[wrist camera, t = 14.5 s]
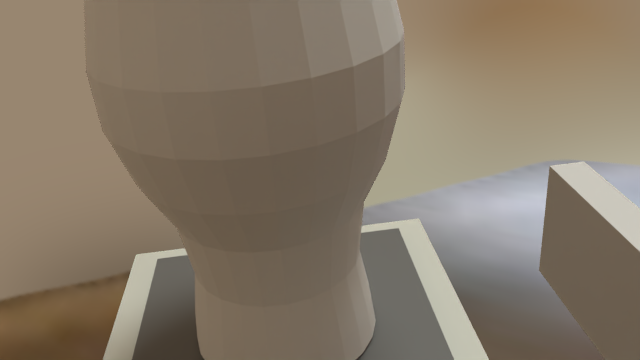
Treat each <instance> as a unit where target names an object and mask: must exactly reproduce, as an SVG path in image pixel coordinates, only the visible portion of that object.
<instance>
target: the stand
mask: <svg viewBox="0 0 640 360" xmlns="http://www.w3.org/2000/svg"><path fill="white" fill-rule="evenodd" d="M360 253H361V257H362V260H363V264H364V268H365V272H366V275H367V279H368V283H369V288H370V293H371V298H372V303H373V309H374V314H375V319H376V322H375V327H374V332H373V337H372V339H371V340H370V342H369V344H368V345H367V347H366V349H365V350H364V352H363V353H362V354H361V355H360V356H359V357H358V358H357V359H356V360H489V359H488V357H487V355H486V353H485V351H484V349H483V347H482V345H481V343H480V341H479V339H478V337H477V335H476V333H475V331H474V329H473V327H472V325H471V323H470V321H469V319H468V317H467V315H466V313H465V311H464V309H463V307H462V305H461V303H460V301H459V298H458V296H457V294H456V292H455V290H454V288H453V286H452V284H451V282H450V280H449V278H448V276H447V274H446V272H445V270H444V268H443V266H442V264H441V262H440V260H439V258H438V256H437V254H436V252H435V250H434V248H433V246H432V244H431V242H430V240H429V238H428V236H427V234H426V232H425V230H424V228H423V226H422V224H421V222H420V220H419V219H412V220H404V221H396V222H388V223H380V224H373V225H365V226H362V227H361V238H360ZM103 360H204V358H203V357H202V355H201V354H200V348H199V343H198V338H197V327H196V316H195V272H194V270H193V267H192V265H191V262H190V260H189V257H188V255H187V252H186V250H185V248H184V249H176V250H168V251H160V252H153V253H145V254H137V255H136V257H135V260H134V263H133V266H132V269H131V273H130V276H129V279H128V282H127V285H126V288H125V292H124V295H123V298H122V301H121V304H120V307H119V311H118V314H117V317H116V320H115V323H114V326H113V330H112V333H111V336H110V339H109V342H108V345H107V349H106V352H105V355H104V358H103Z"/></svg>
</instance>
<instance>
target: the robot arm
mask: <svg viewBox="0 0 640 360" xmlns="http://www.w3.org/2000/svg"><path fill="white" fill-rule="evenodd" d="M539 271H540V272H541V273H542V275H543V276H544V277H545V279H546V280H547V281H548V283H549V284H550V286H551V287H552V288H553V290H554V291H555V292H556V294H557V295H558V296H559V298H560V299H561V300H562V302H563V303H564V304H565V306H566V307H567V309H568V310H569V311H570V313H571V314H572V315H573V317H574V318H575V319H576V321H577V322H578V323H579V325H580V326H581V328H582V329H583V330H584V332H585V333H586V334H587V336H588V337H589V338H590V340H591V341H592V342H593V344H594V345H595V346H596V348H597V349H598V351H599V352H600V353H601V355H602V356H603V357H604V359H605V360H640V208H639V207H637V206H636V205H635V204H634V203H633V202H631V201H630V200H629V199H628V198H627V197H625V196H624V195H623V194H622V193H621V192H620V191H618V190H617V189H616V188H615V187H614V186H612V185H611V184H610V183H609V182H608V181H606V180H605V179H604V178H603V177H602V176H600V175H599V174H598V173H597V172H596V171H595V170H593V169H592V168H591V167H590V166H589V165H587V164H586V163H585V162H578V163H569V164H561V165H553V166H550V169H549V179H548V188H547V198H546V208H545V218H544V228H543V238H542V248H541V257H540V267H539Z"/></svg>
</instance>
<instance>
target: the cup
mask: <svg viewBox="0 0 640 360" xmlns="http://www.w3.org/2000/svg"><path fill="white" fill-rule="evenodd" d="M84 13H85V48H86V49H85V52H86V73H87V77H88V80H89V84H90V87H91V91H92V95H93V98H94V102H95V105H96V109H97V112H98V116H99V120H100V123H101V127H102V130H103V132H104V134H105V135H106V137H107V138H108V140H109V142H110V143H111V145H112V147H113V148H114V150H115V151H116V153H117V154H118V156H119V158H120V159H121V161H122V163H123V164H124V166H125V167H126V169H127V171H128V172H129V174H130V175H131V177H132V178H133V180H134V182H135V183H136V185H137V186H138V187H139V188H140V189H141V191H142V192H143V193H144V194H145V195H146V196H147V197H148V199H149V200H151V202H152V203H153V204H154V205H155V206H156V207H157V208H158V209H159V210H160V211H161V212H162V213H163V214H164V215H165V216H166V217H167V218H168V219H169V220H170V221H171V222H172V223H173V224H174V225H175V227H177V230H178V232H179V234H180V237H181V239H182V242H183V245H184V247H185V250H186V252H187V255H188V257H189V260H190V262H191V265H192V267H193V270H194V272H195V316H196V327H197V338H198V343H199V348H200V354H201V355H202V357H203V358H204V360H356V359H357V358H358V357H359V356H360V355H361V354H362V353H363V352H364V350H365V349H366V347H367V345H368V344H369V342H370V340H371V339H372V337H373V332H374V327H375V322H376V319H375V314H374V309H373V303H372V298H371V293H370V288H369V283H368V279H367V275H366V272H365V268H364V264H363V260H362V257H361V253H360V238H361V227H362V216H363V206H364V201H365V199H366V197H367V195H368V193H369V191H370V189H371V187H372V185H373V183H374V181H375V179H376V177H377V175H378V173H379V171H380V170H381V167H382V166H383V164H384V162H385V159H386V156H387V152H388V149H389V145H390V141H391V137H392V134H393V130H394V126H395V123H396V119H397V115H398V112H399V108H400V104H401V100H402V97H403V93H404V89H405V70H404V69H405V68H404V67H405V64H404V28H403V24H402V20H401V16H400V12H399V8H398V4H397V1H396V0H84Z"/></svg>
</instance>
